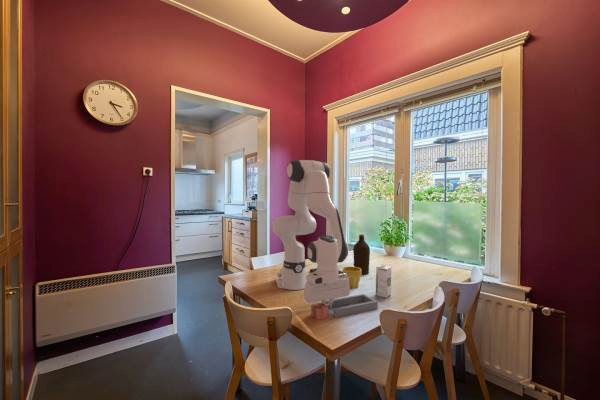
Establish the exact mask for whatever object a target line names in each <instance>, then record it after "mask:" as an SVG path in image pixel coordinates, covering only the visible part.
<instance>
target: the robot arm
mask: <svg viewBox="0 0 600 400" xmlns="http://www.w3.org/2000/svg"><path fill="white" fill-rule="evenodd" d="M286 167H287V168H286V175H287V178H288V179H289V180H290V183H289V187H288V194H287V195H288V196H287V205H288V207H289V208H290V209H291V210H293V211H295V214H294V215H282V216H276V217H275V218H274V219H273V220H272V223H271V224H272V225H271V228H272V232H273V233H274V234H275V235H276V236H277V237H279V239H280V240H281V242H282V244H283V248H284V251H283V252H284V259H283V261H282V263H283V265H282V268H280V270H279V271H278V272H277V274H276V275H277V277H276V278H275V279H274V281H275V283H276V286H277V288H278V289H285V290H289V291H299V290H303V299H304V300H305V301H306V302H307V303H316V302H322V303H323V304H324V305H326V306H327V307H328V309H331V308H332V304H333V302H334V299H338V298H344V297H349V296H350V294H351V288H350V286H349V276H348V275H347V274H346V273H343V274H338V270H339V265H338V263H343V262H344V261H346V259H347V257H348V255H349V249H348V246H347V243H346V242H347V241H346V240H345V236H344V231H343V226H342V222H341V216H340V212H339V210H338V208H337V206H336V205H335V204H334V203H333V201H332V199H331V196H330V186H329V185H330V184H329V178H330V177H331V168H330V165H329V163H327V162H326V161H319V160H318V161H317V160H312V159H301V160H299V159H293V160H290V161H289V163H287V166H286ZM310 212H312V213H313V214H316V215H318V216H321V217H323V218H325V219H326V220H327V221H328V222H329V224H330V230H331V234H332V235H327V234H326V235H321V236H319V237H318V238H317V240H315V241H311V242H310V243H309V244H308V246H307V249H305V246H304V244H303V243H302V242H300V241H298V240H297V238H296V236H305V235H306V236H307V235H309V234H312V233H314V232H315V231H316V228H317V222H316V218H315V217H314V216H313V215H312V214H311V213H310ZM305 250H306V252H305ZM305 253H307V254H306V256H305ZM305 257H307V259H308V260H309V261H310V262H311V263H313V264H317V266H316V268H317V270H316V271H314V272H312V273H311V272H309V273H308V269H307V268H306V265H307V264H306V259H305ZM327 300H329V302H328V304H326V303H325V302H327Z"/></svg>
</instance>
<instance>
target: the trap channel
mask: <svg viewBox="0 0 600 400" xmlns="http://www.w3.org/2000/svg"><path fill="white" fill-rule="evenodd" d="M328 302H329V299H327V302H325V303H326V304H328ZM378 307H379V306H378V301H377V300H375V299H374V298H372V297H371V296H368V295H366V294H365V293H361V294H356V295H348V296H344V297H338V298H334V302H333V304H332V308H331V309H328V314H331V315H332V316H333V317H334V318H336V319H337V318H340V317H345V316H349V315H353V314H359V313H363V312H368V311H371V310H373V311H374V310H377V309H378Z"/></svg>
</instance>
